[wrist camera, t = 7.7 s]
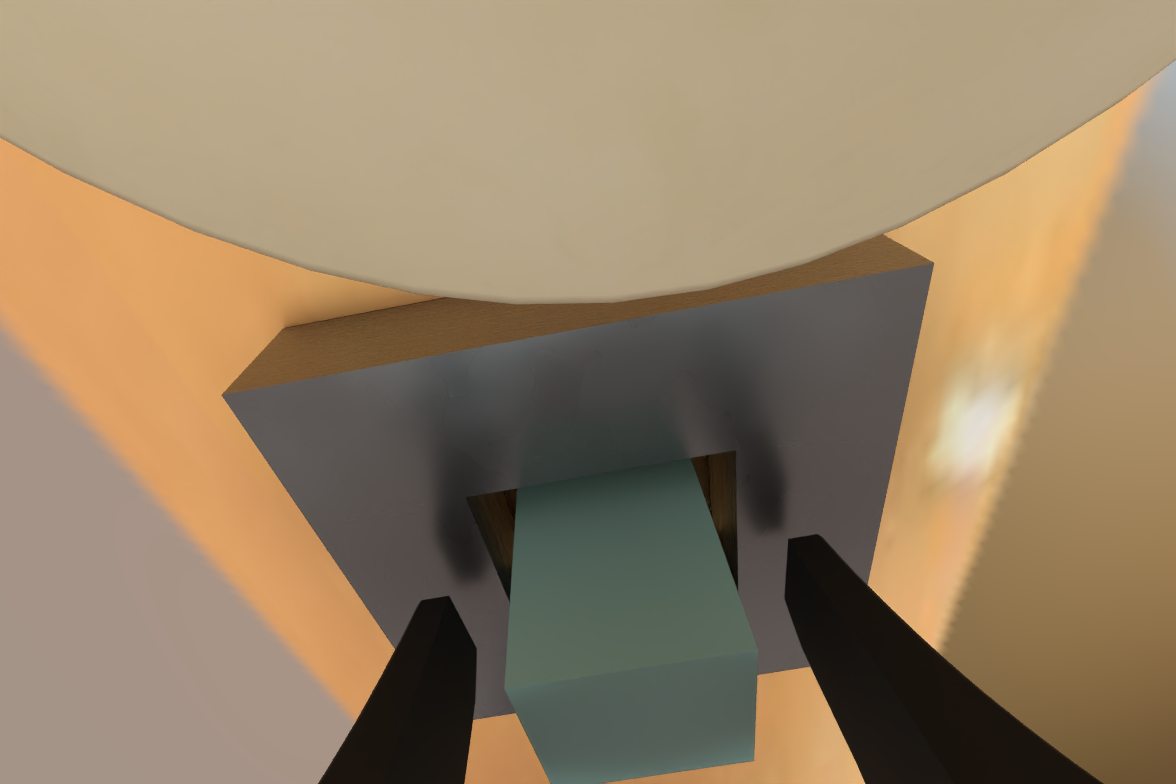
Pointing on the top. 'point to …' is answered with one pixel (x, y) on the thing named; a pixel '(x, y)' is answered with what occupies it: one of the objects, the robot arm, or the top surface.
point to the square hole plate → (593, 429)
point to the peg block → (627, 629)
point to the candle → (558, 125)
